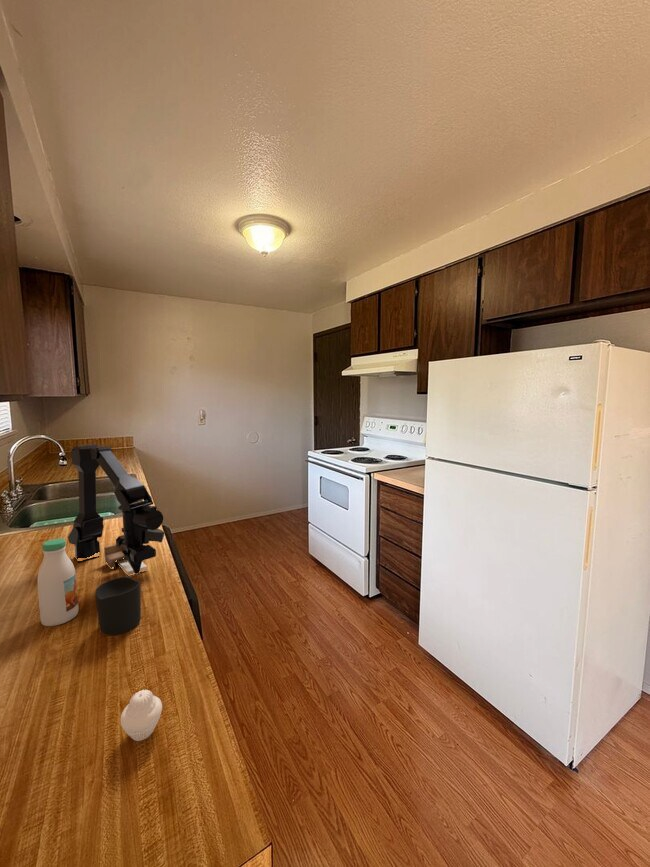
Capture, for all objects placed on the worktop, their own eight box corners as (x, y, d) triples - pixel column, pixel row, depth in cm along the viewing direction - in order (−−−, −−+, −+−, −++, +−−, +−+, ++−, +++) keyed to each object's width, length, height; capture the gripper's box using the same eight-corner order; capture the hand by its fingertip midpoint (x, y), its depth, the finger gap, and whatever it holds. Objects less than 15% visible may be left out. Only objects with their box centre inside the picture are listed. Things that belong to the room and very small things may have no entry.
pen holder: (144, 610, 94) (142, 573, 93) (140, 631, 85) (137, 591, 84) (102, 618, 90) (100, 580, 89) (94, 641, 82) (90, 600, 81)
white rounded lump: (169, 715, 63) (167, 678, 62) (153, 749, 57) (151, 708, 56) (133, 716, 62) (130, 679, 62) (113, 750, 56) (110, 710, 56)
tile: (128, 578, 111) (127, 572, 111) (117, 566, 119) (116, 560, 119) (147, 572, 115) (147, 566, 115) (135, 560, 123) (135, 555, 123)
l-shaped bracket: (110, 570, 115) (109, 552, 115) (105, 564, 119) (104, 547, 119) (143, 560, 122) (142, 543, 122) (137, 555, 126) (136, 538, 126)
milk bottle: (55, 630, 86) (48, 549, 84) (33, 623, 88) (25, 545, 86) (86, 612, 93) (80, 537, 91) (64, 606, 95) (58, 533, 93)
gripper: (172, 525, 110) (175, 573, 111) (150, 511, 123) (153, 555, 124) (132, 535, 102) (136, 587, 103) (113, 519, 115) (117, 566, 117)
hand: (136, 572), depth 112 cm, fingers closed
